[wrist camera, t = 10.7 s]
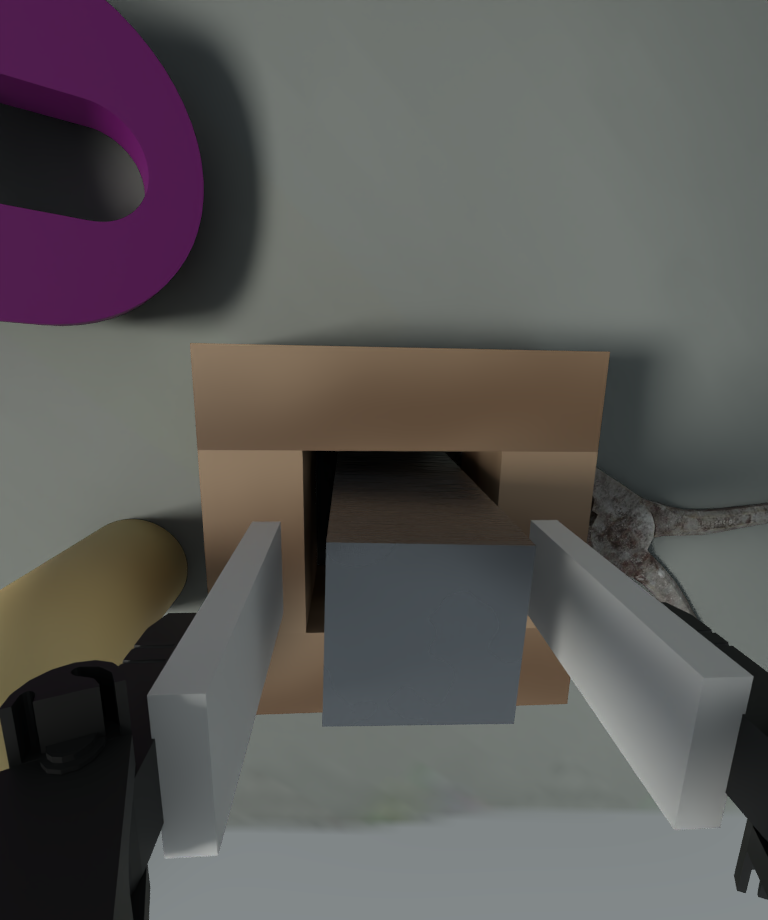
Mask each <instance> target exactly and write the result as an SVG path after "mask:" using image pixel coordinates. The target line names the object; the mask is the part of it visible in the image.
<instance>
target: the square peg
mask: <svg viewBox="0 0 768 920" xmlns="http://www.w3.org/2000/svg"><path fill="white" fill-rule="evenodd" d="M535 553H536V545H535V544H534V543H533V542H532V541H531V540H530V539H529V538H528V537H527V536H526V535H525V534H524V533H523V532H522V531H521V530H520V529H519V528H518V527H517V526H516V525H515V524H514V522H513V521H512V520H511V519H510V518H509V517H508V516H507V515H506V514H505V513H504V512H503V511H502V510H501V509H500V508H499V507H498V506H497V505H496V504H495V503H494V502H493V501H492V500H491V499H490V498H489V497H488V496H487V495H486V494H485V493H484V492H483V491H482V490H481V489H480V488H479V487H478V486H477V485H476V484H475V483H474V482H473V481H472V480H471V479H470V478H469V477H468V476H467V475H466V474H465V473H464V472H463V470H462V469H461V468H460V467H459V466H458V465H457V464H456V463H455V462H454V461H453V460H452V459H451V458H450V457H449V456H448V455H447V454H446V453H445V452H444V451H338V456H337V464H336V472H335V479H334V487H333V495H332V502H331V510H330V518H329V525H328V533H327V540H326V577H325V623H324V669H323V715H322V726H386V725H453V724H514V718H515V710H516V702H517V694H518V686H519V678H520V671H521V663H522V655H523V647H524V639H525V631H526V623H527V616H528V608H529V600H530V592H531V584H532V576H533V568H534V561H535Z"/></svg>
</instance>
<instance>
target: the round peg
mask: <svg viewBox="0 0 768 920" xmlns="http://www.w3.org/2000/svg"><path fill="white" fill-rule="evenodd" d="M186 578H187V560H186V557H185V554H184V551H183V549H182V547H181V546H180V544H179V542H178V541H177V540H176V539H175V538H174V537H173V536H172V535H171V534H170V533H169V532H168V531H166V530H165V529H164V528H162V527H160V526H158V525H156V524H154V523H151V522H148V521H144V520H138V519H126V520H120V521H116V522H113V523H110V524H108V525H106V526H104V527H102V528H101V529H99V530H97V531H96V532H94V533H93V534H91V535H89V536H88V537H86V538H84V539H83V540H81V541H79V542H78V543H76V544H75V545H73V546H71V547H70V548H68V549H66V550H65V551H63V552H61V553H60V554H58V555H57V556H55V557H53V558H52V559H50V560H48V561H47V562H45V563H44V564H42V565H40V566H39V567H37V568H35V569H34V570H32V571H30V572H29V573H27V574H26V575H24V576H22V577H21V578H19V579H17V580H16V581H14V582H13V583H11V584H9V585H8V586H6V587H4V588H3V589H1V590H0V707H1V706H2V704H3V703H4V702H5V701H6V699H7V698H8V697H9V695H10V694H12V693H13V692H14V691H16V690H17V689H18V688H20V687H21V686H22V685H24V684H25V683H26V682H28V681H29V680H31V679H33V678H35V677H37V676H39V675H41V674H43V673H45V672H47V671H50V670H52V669H55V668H58V667H61V666H65V665H68V664H71V663H75V662H83V661H92V660H99V661H107V662H113V663H114V664H116V665H117V666H119V665H120V664H123V660H124V658H125V657H126V656H127V654H128V653H129V652H130V650H131V649H134V645H135V644H136V642H137V641H138V640H139V638H140V637H141V636H142V634H143V633H144V632H145V630H146V629H147V628H148V627H150V626H151V625H152V624H154V623H155V622H157V621H158V620H160V619H161V618H162V617H163V615H164V614H165V613H166V611H167V610H168V609H169V607H170V606H171V605H172V604H173V602H174V601H175V600H176V598H177V597H178V596H179V594H180V593H181V591H182V589H183V587H184V585H185V582H186ZM6 769H9V764H8V758H7V753H6V748H5V743H4V737H3V732H2V727H1V722H0V771H3V770H6Z"/></svg>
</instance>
